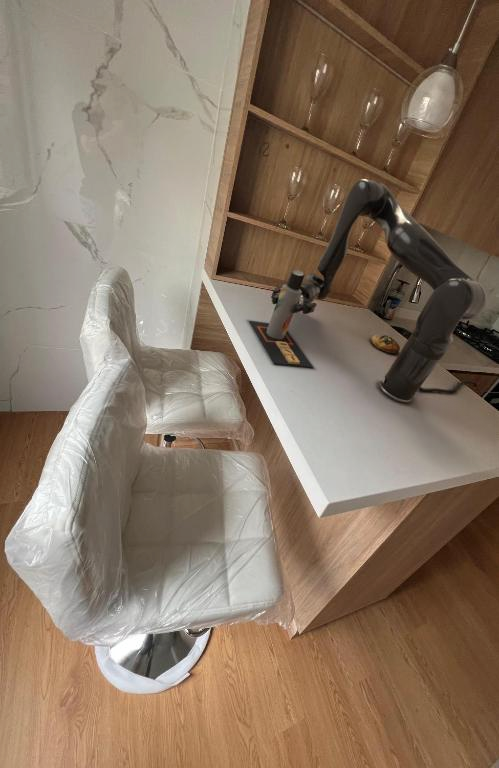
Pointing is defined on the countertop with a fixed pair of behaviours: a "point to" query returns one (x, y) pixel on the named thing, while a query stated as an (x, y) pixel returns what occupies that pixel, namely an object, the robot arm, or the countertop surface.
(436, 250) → the robot arm
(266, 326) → the mat
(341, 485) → the countertop surface
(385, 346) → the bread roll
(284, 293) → the lotion bottle
